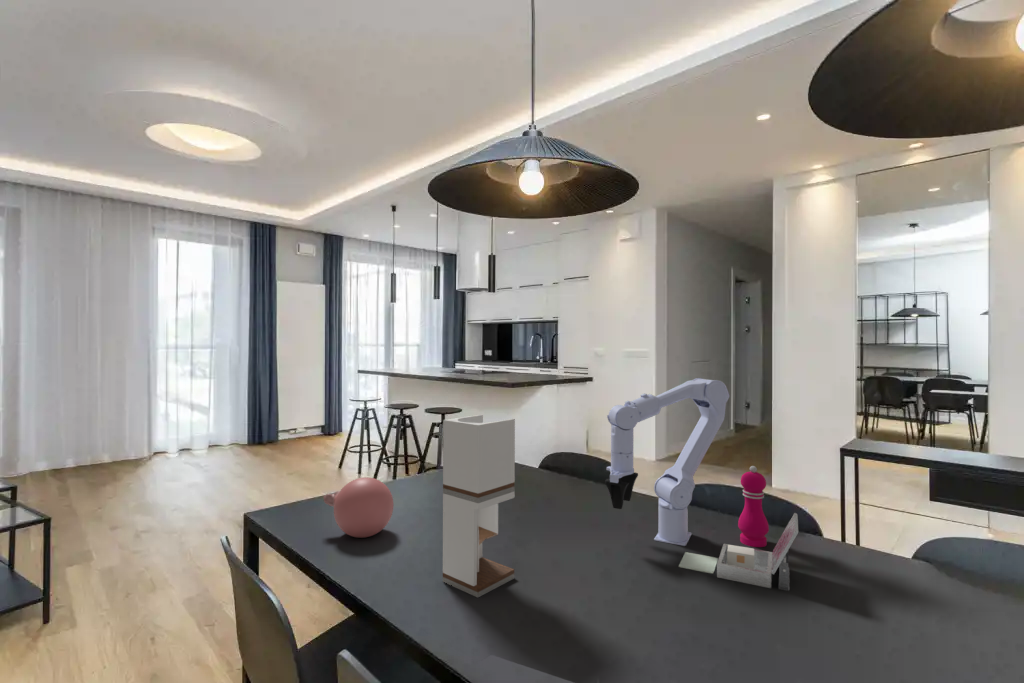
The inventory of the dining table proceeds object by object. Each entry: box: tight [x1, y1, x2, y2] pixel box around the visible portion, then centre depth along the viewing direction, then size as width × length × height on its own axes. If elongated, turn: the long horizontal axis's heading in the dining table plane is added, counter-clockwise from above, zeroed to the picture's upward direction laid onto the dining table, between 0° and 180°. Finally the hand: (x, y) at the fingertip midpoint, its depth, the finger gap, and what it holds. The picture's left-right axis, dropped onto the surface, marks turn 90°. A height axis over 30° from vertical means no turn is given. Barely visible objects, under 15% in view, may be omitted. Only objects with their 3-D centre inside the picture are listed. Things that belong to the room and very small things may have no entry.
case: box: [716, 543, 790, 592], centre depth 115 cm, size 13×14×5 cm
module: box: [727, 544, 755, 569], centre depth 116 cm, size 4×6×4 cm
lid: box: [771, 512, 799, 575], centre depth 112 cm, size 13×11×1 cm
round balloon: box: [322, 476, 395, 539], centre depth 137 cm, size 15×20×15 cm
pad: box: [678, 551, 719, 574], centre depth 120 cm, size 9×8×1 cm
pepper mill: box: [737, 465, 770, 548], centre depth 132 cm, size 7×7×20 cm
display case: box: [442, 414, 516, 599], centre depth 111 cm, size 11×11×35 cm
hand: (621, 504), depth 133 cm, fingers open, 7 cm apart
